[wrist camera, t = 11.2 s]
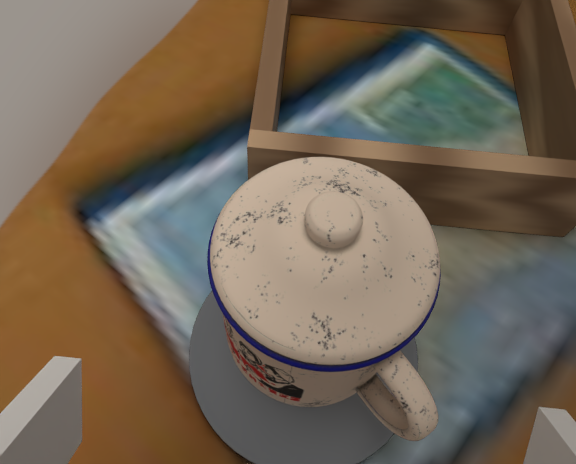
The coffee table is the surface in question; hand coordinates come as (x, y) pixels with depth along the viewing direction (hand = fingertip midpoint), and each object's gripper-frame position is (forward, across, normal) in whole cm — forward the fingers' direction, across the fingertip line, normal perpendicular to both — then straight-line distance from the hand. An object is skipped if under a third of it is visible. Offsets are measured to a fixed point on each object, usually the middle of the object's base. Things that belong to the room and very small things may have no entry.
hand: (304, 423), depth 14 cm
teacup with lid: (+12, +1, -4) cm, 12 cm away
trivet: (+12, 0, -4) cm, 13 cm away
